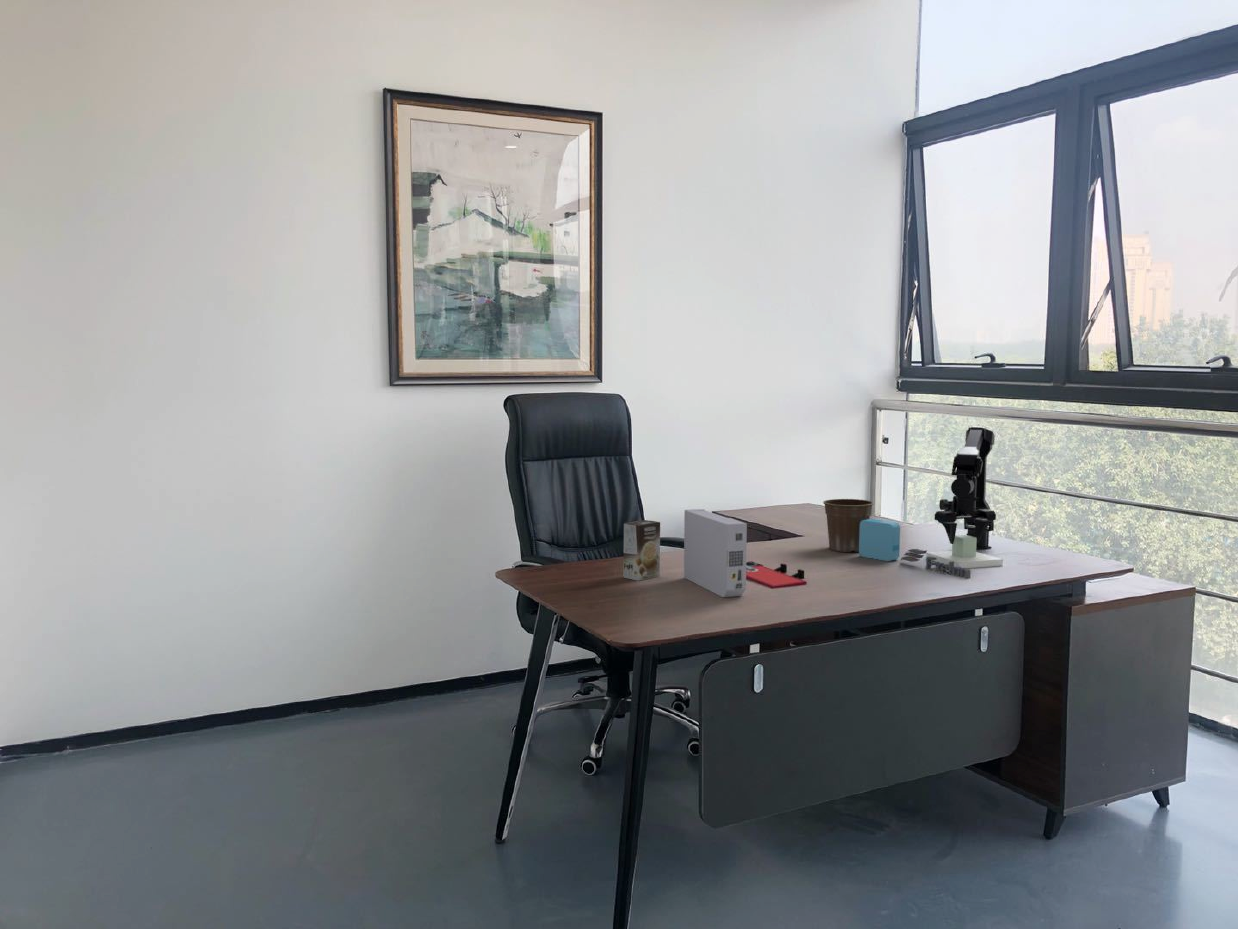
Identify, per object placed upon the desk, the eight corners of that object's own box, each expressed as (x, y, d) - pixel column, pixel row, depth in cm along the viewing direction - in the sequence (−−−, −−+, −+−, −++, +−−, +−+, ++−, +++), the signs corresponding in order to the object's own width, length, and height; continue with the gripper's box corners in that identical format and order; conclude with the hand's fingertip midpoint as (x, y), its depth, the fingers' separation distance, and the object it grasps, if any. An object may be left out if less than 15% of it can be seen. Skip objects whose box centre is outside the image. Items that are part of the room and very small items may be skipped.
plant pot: (815, 550, 307) (816, 502, 305) (831, 543, 320) (832, 497, 319) (863, 556, 298) (865, 506, 297) (878, 548, 312) (879, 500, 310)
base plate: (968, 555, 299) (968, 549, 298) (1002, 565, 283) (1002, 559, 283) (926, 558, 294) (926, 552, 294) (958, 568, 279) (958, 562, 279)
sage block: (965, 553, 292) (966, 535, 291) (975, 556, 287) (976, 537, 286) (951, 554, 290) (952, 535, 290) (962, 557, 285) (963, 538, 285)
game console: (702, 576, 268) (702, 508, 266) (746, 598, 243) (747, 523, 241) (683, 578, 266) (684, 509, 264) (726, 600, 241) (727, 524, 239)
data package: (899, 560, 292) (900, 522, 291) (891, 562, 289) (893, 524, 288) (866, 554, 301) (867, 518, 299) (858, 556, 298) (859, 519, 296)
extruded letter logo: (900, 563, 288) (901, 546, 287) (904, 563, 288) (904, 545, 288) (966, 579, 266) (967, 560, 265) (970, 578, 267) (971, 559, 266)
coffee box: (638, 581, 262) (638, 525, 260) (622, 577, 267) (622, 522, 265) (660, 576, 268) (660, 521, 267) (644, 573, 273) (644, 519, 271)
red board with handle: (756, 563, 287) (715, 569, 281) (756, 554, 287) (715, 560, 280) (817, 584, 260) (773, 591, 254) (817, 575, 260) (773, 581, 253)
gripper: (974, 489, 297) (972, 537, 298) (924, 491, 291) (922, 540, 293) (998, 493, 286) (996, 543, 288) (946, 495, 281) (944, 546, 282)
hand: (964, 543), depth 288 cm, fingers open, 9 cm apart
